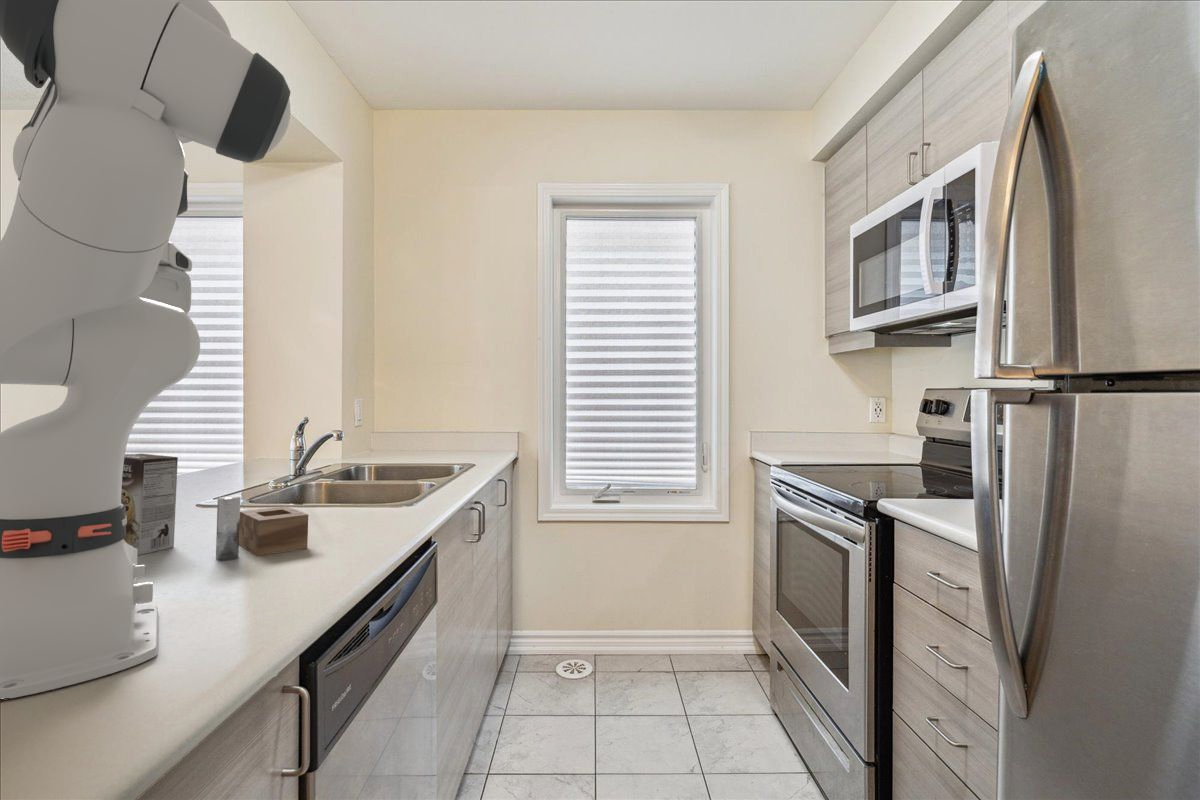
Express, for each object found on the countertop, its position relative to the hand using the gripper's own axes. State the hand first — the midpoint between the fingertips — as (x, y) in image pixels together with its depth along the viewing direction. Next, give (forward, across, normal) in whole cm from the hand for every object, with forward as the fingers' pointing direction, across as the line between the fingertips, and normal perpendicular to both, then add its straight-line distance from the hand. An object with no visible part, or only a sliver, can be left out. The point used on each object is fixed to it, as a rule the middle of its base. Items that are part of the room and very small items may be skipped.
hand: (131, 337), depth 90 cm
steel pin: (+36, +7, -11) cm, 38 cm away
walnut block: (+36, +15, -14) cm, 41 cm away
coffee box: (+36, +10, +7) cm, 38 cm away
